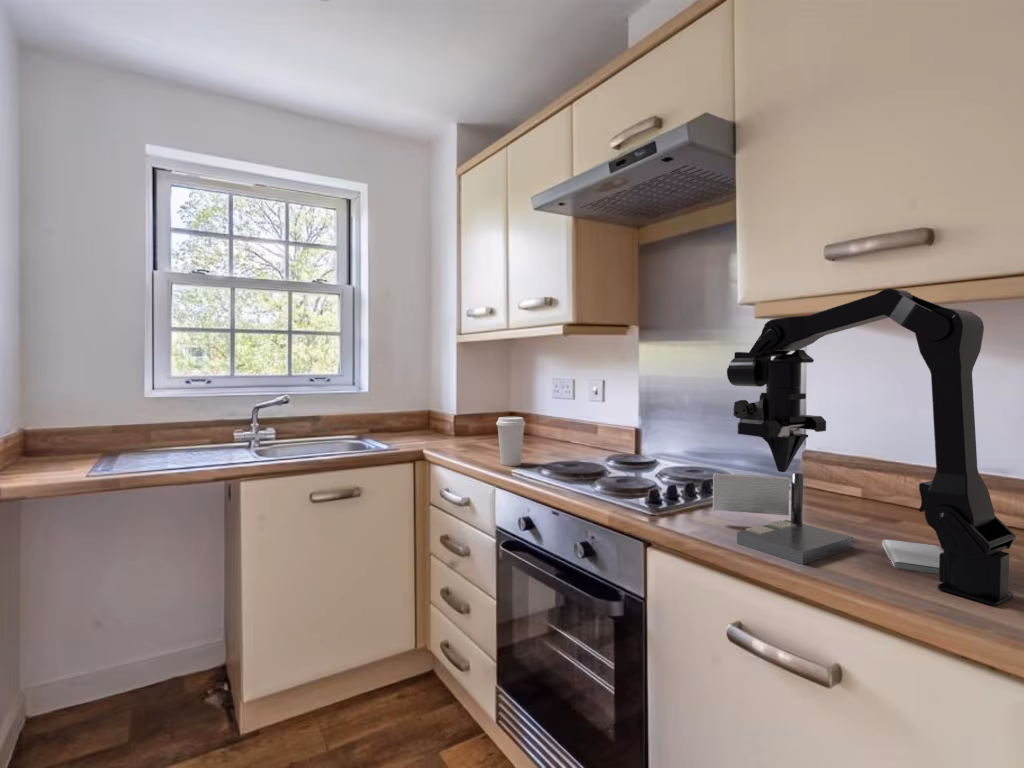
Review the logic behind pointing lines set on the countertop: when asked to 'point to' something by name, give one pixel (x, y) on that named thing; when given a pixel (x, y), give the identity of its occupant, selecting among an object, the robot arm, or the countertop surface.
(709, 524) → the countertop surface
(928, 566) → the hard drive
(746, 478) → the grey flat panel
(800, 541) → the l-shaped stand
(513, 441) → the coffee cup
